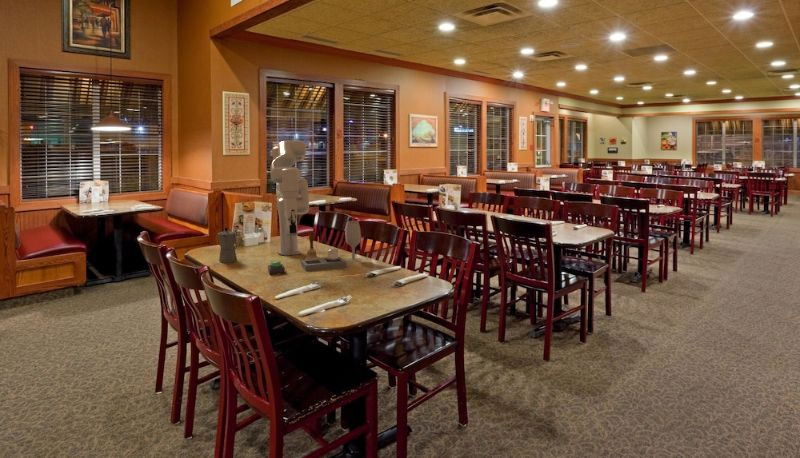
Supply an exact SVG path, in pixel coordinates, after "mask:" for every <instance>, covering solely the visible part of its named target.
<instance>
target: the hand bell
mask: <svg viewBox="0 0 800 458" xmlns="http://www.w3.org/2000/svg"><path fill="white" fill-rule="evenodd" d="M314 238H315V234H314V233H313V230H310V231H309V234H308V241H309V250H307V253H306V257H305V258H304V260H310V259H320V258H319V257H318V255H317V251H316V250H315V249H314V240H315V239H314Z"/></svg>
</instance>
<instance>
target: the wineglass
mask: <svg viewBox="0 0 800 458" xmlns="http://www.w3.org/2000/svg"><path fill="white" fill-rule="evenodd" d="M361 233H362V231H361V226H360V223H359V221H356V220H349V221H347V222H346V225H345V233H344V235H345V236H344V237H345V241H346V243H347V244H348V245H349V246H350V247H351V257H348V258H346V259H345V262H351V263H353V262H354V263H356V262H360V261H362V259H361V257H356V255H355V254H356V252H355V248H356V247H357V246H358V245H359V244H360V242H361V238H362V235H361Z"/></svg>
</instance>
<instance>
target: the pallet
mask: <svg viewBox="0 0 800 458" xmlns="http://www.w3.org/2000/svg"><path fill="white" fill-rule="evenodd" d="M300 266H301V267H302V269H303V270H304V271H305V272H312V271H323V270H330V269H331V270H332V269H340V268H346V267H347V261H346V260H344V259H343V258H341V257H340V256H338V261H337V262H328V257H326V258H325V257H323V258H319V259H310V260H305V259H301V260H300Z"/></svg>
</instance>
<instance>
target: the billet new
mask: <svg viewBox="0 0 800 458" xmlns="http://www.w3.org/2000/svg"><path fill="white" fill-rule="evenodd" d="M286 225H287V235H288V236H295V235H297V236H298V232H297V233H290V229H289V225H290V219H287V218H286ZM296 230H297V231H298V217H297V218H296Z"/></svg>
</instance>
